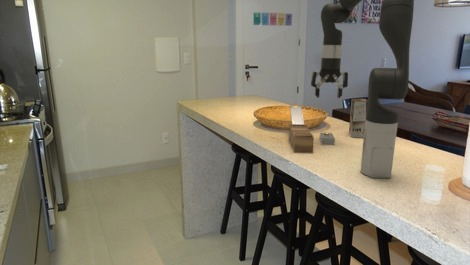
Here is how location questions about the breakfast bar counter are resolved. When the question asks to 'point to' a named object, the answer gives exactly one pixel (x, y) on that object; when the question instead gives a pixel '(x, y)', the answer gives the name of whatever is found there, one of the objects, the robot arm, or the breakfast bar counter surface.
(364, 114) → the coffee box
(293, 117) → the lever
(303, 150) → the body
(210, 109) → the breakfast bar counter surface
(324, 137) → the grey rectangular block
